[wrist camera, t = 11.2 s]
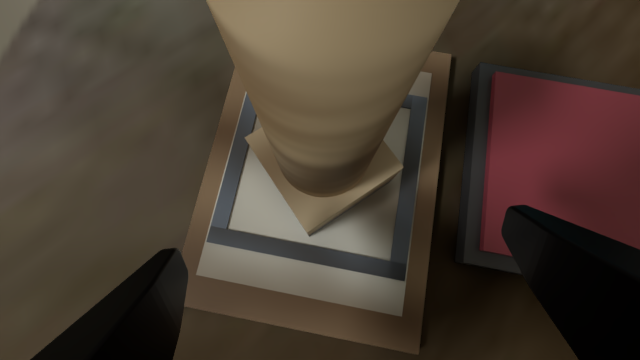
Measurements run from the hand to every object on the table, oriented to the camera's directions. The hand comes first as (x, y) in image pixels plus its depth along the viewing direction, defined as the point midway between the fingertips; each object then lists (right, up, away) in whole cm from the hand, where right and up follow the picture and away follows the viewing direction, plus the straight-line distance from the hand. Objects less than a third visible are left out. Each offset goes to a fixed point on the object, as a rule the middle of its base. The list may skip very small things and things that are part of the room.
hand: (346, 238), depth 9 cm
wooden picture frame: (-1, +2, +9) cm, 9 cm away
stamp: (-1, +2, +8) cm, 8 cm away
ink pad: (+12, +2, +9) cm, 15 cm away
